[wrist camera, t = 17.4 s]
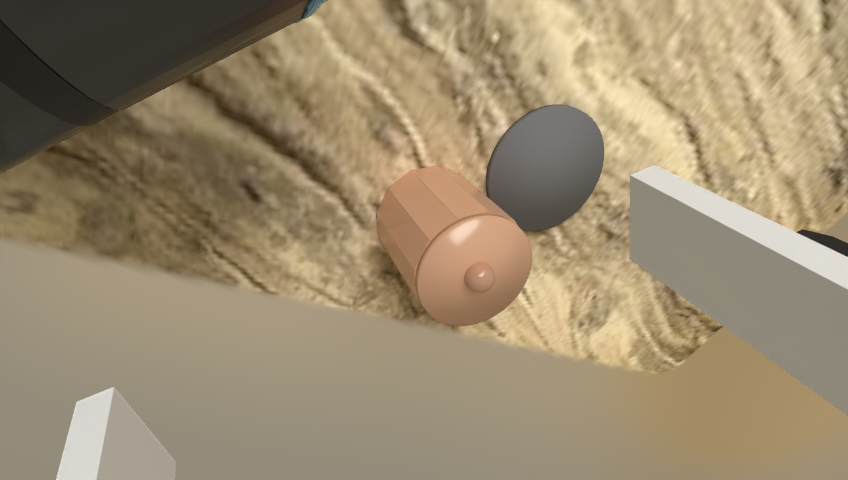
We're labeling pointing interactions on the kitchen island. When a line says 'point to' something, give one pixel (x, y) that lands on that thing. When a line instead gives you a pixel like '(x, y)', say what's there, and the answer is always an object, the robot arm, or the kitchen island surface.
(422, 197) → the lidded canister
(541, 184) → the mat
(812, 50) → the kitchen island surface
